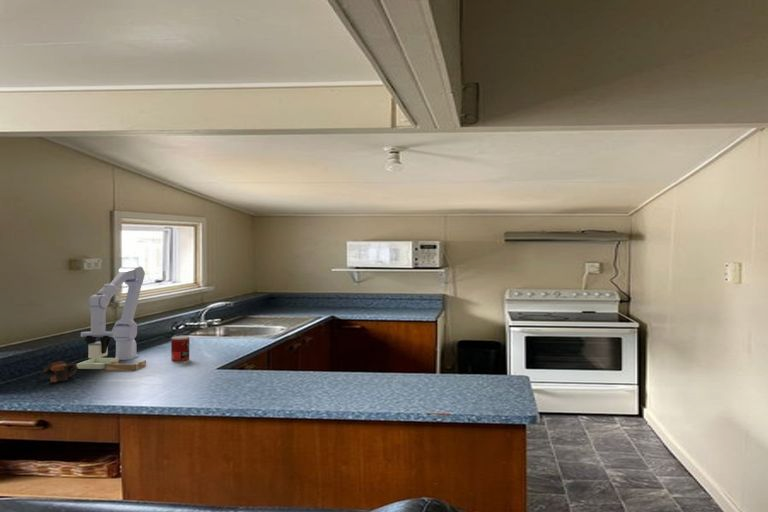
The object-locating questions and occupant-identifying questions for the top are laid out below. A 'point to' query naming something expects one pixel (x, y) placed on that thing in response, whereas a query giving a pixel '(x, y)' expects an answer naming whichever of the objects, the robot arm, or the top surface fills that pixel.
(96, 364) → the tray
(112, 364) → the dock
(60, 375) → the toy turtle
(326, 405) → the top surface
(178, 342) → the canned food
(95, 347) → the grey box
